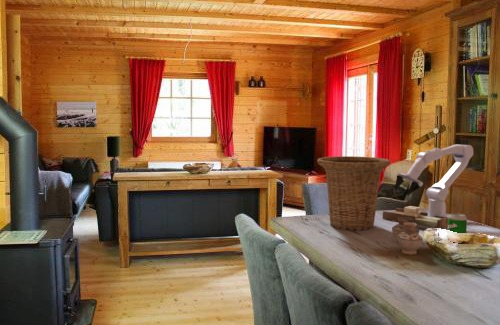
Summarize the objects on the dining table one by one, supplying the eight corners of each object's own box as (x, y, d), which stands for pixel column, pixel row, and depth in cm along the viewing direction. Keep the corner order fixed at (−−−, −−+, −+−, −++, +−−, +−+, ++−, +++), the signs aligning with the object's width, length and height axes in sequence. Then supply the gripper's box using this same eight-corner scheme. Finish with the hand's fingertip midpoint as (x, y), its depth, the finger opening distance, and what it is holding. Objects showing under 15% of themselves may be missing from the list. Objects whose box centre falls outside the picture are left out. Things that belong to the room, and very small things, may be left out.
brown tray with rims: (397, 214, 263) (397, 206, 262) (454, 224, 240) (455, 215, 239) (381, 219, 252) (381, 210, 252) (440, 229, 229) (440, 220, 228)
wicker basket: (312, 231, 225) (313, 161, 221) (319, 216, 258) (320, 155, 255) (389, 236, 216) (392, 163, 213) (386, 219, 250) (388, 157, 247)
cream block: (409, 214, 252) (409, 206, 252) (420, 216, 248) (420, 207, 247) (403, 215, 248) (404, 207, 248) (414, 217, 244) (414, 209, 243)
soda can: (462, 239, 210) (463, 213, 209) (468, 244, 203) (469, 216, 202) (444, 239, 211) (445, 212, 210) (450, 243, 204) (451, 216, 202)
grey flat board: (435, 218, 254) (435, 215, 254) (457, 222, 245) (457, 219, 245) (407, 226, 234) (407, 223, 234) (430, 231, 225) (430, 228, 225)
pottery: (396, 255, 187) (397, 225, 186) (390, 239, 211) (391, 212, 210) (426, 257, 185) (427, 227, 184) (416, 240, 209) (417, 213, 208)
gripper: (401, 162, 253) (387, 183, 251) (425, 172, 242) (410, 193, 240) (405, 169, 257) (391, 189, 256) (429, 179, 247) (414, 199, 245)
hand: (401, 191), depth 248 cm, fingers open, 7 cm apart
